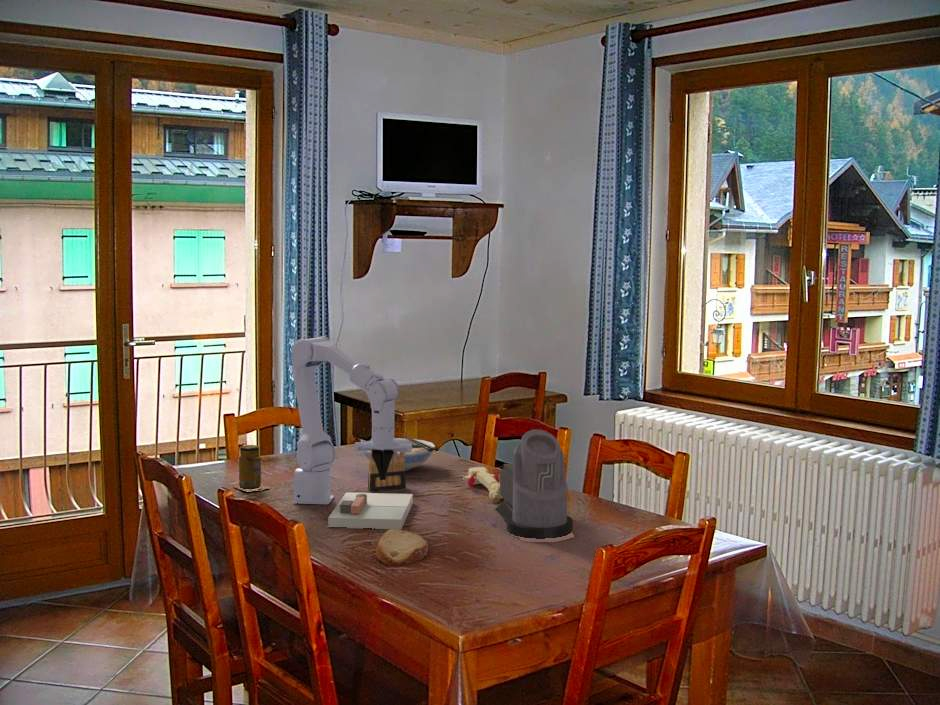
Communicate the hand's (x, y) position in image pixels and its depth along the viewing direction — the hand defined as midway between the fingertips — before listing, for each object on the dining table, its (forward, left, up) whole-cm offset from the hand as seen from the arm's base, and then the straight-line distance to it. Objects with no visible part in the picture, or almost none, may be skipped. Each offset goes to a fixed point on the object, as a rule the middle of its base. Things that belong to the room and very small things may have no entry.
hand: (383, 479), depth 257 cm
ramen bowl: (-3, +49, -10) cm, 50 cm away
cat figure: (+26, +26, -10) cm, 38 cm away
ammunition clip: (-3, +25, -10) cm, 27 cm away
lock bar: (-6, -4, -6) cm, 9 cm away
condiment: (-41, +22, -10) cm, 47 cm away
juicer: (+38, -6, -10) cm, 40 cm away
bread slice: (+8, -29, -10) cm, 31 cm away
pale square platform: (-3, -1, -9) cm, 10 cm away
